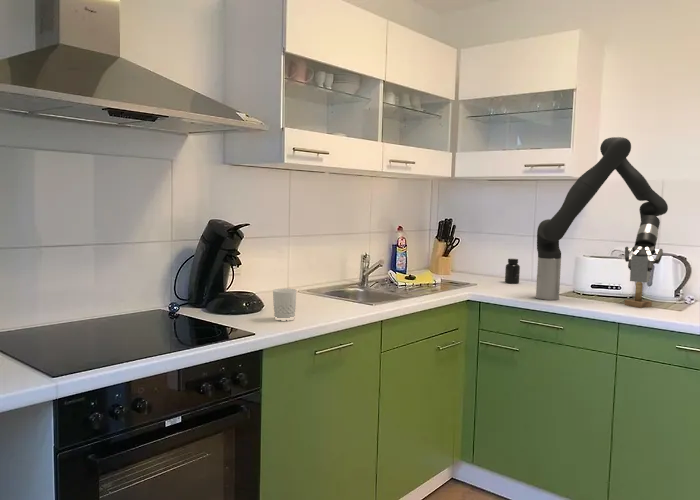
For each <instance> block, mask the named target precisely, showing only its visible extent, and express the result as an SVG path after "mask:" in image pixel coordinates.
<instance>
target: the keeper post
mask: <svg viewBox="0 0 700 500" xmlns="http://www.w3.org/2000/svg"><path fill="white" fill-rule="evenodd" d="M643 287H644V286H643V282H635V294H634V298H631V299H625V300H624V306H628V307H632V308H639V309H645V308H651V307H653V304H652V303H653V301H650V300H644V299H642V298H643Z"/></svg>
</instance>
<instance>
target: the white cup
mask: <svg viewBox="0 0 700 500" xmlns="http://www.w3.org/2000/svg"><path fill="white" fill-rule="evenodd" d="M272 297H273V310H274V315H273V316H275V317H277V318H290V317H294V316H296V314H295V313H296V307H297V305H296V304H297V290H296V289H294V288H275V289H273V290H272ZM275 317H274V318H275Z"/></svg>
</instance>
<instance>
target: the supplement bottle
mask: <svg viewBox="0 0 700 500" xmlns="http://www.w3.org/2000/svg"><path fill="white" fill-rule="evenodd" d="M518 263H519V259H518V258H508V259H507V264H506V265H505V273H504V274H505V276H504V282H505V284H510V285H511V284H512V285H513V284H514V285H517V284H519V283H520V272H521V266H520V265H519V264H518Z"/></svg>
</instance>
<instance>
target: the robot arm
mask: <svg viewBox="0 0 700 500" xmlns="http://www.w3.org/2000/svg"><path fill="white" fill-rule="evenodd" d="M631 149H632V143H631V141H630V140H629V139H628V138H627V137H626V138H625V137H623V136H622V137H619V136H617V137H614V136H613V137H608V138H606V139H604V140H603V141H602V143H600V154H601V155H602V157H601V158H600V159H599V161H597V163H596V164H594V165H593V166H592V167H590V168H589V169H588V170H587V171H585V172H584V173H582V174H581V175H580V176H579V177H578V179H576V180H575V182H574V183H573V184H572V186H571V187H570V188H569V190H568V192H567V194H566V196H565V197H564V198H565V199H564V200H563V203H562V205H561V207H560V209H559V210H558V211H557V212H556V213H554V216H552V217H551V218H550V219H549V218H548V219H544V220H542V221H541V222H540V223H539V224H538V226H537V230H536V231H537V232H536V250H537V270H536V271H537V273H536V284H535V285H536V287H535V297H536V299H539V300H546V301H556V300H560V290H561V288H560V287H561V269H562V268H561V267H562V266H561V265H562V264H561V263H562V251H561V249H560V240H562V239H563V237H564V236H565V235H566V233H567V231H569V228H570V227H571V225H572V223H573V222H574V221H575V219H576V218H577V217H578V215H580V213H581V212H583V210H584V209H585V207H586V206H587V205H588V204H589V202H591V201H592V199H593V198H594V196H595V195H596V194H597V193H598V191H599V190H600V189H601V187H602V186H603V185H604V184H605V183H606V181H607V180H608V178H609V177H610V175H612V173H613V172H614V171H616V172H617V174H619V176H620V178H622V180H623V182H625V184H626V185H627V187H628V188H629V190H630V192H631V193H632V194H633V196H634V197H635V199H636V200H637V201H641V202H643V201H644V202H643V203H642V204H641V205H640V206H639V215H640V225H639V228H638V230H637V232H636V233H637V234H636V238H635V242H634V246H633V247H629V246H625V247H624V261H625V262H626V263H627V264H628V265H627V268H628V269H629V271H630V270H631V256H632V255H635V256H636V255H644V256H650V261H649V264H648V271H649V272H650V273H651V271H652V270H653V268H654V265H655V264H657V265H658V264H660V262H661V260H662V257H663V254H664V250H663V248H660V249H656V246H657V241H658V237H659V228H660V223H661V221H660V218H659V216H662V215H665V214H667V212H668V210H669V206H668V203H667V201H666V200H665V199H664V198H663V197H662V196H661V195H659V194H658V193H657V192H656V191H655V190H653V188H652V187H651V185H650V184H649V182H648V181H647V179H646V177H645V176H644V175H643V174H642V173H641V172H640V171H639V170H638V169H636V167H634V166H633V164H631V162H630V161H629V160H628V159H627V157H628V156H629V154H630V153H631V151H632V150H631ZM645 201H646V202H645ZM631 253H632V254H631ZM630 254H631V256H630ZM654 254H656V256H655V258H653V257H654V256H653V255H654Z"/></svg>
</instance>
